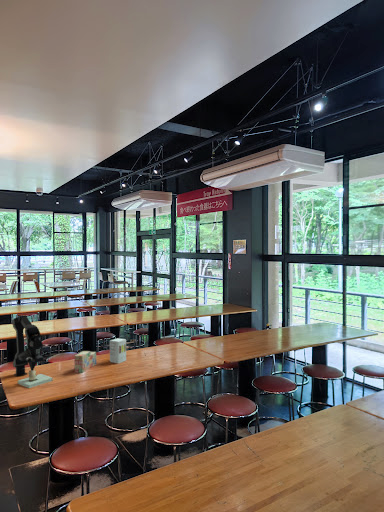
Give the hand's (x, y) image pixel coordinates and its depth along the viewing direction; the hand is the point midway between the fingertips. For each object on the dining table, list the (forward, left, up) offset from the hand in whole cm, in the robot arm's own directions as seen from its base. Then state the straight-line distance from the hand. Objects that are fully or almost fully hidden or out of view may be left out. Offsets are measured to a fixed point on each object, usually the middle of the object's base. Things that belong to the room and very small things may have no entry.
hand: (32, 370), depth 225 cm
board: (0, +2, -8) cm, 9 cm away
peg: (0, 0, -8) cm, 8 cm away
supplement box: (+10, +64, -9) cm, 65 cm away
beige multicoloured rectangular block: (+3, +39, -9) cm, 40 cm away
